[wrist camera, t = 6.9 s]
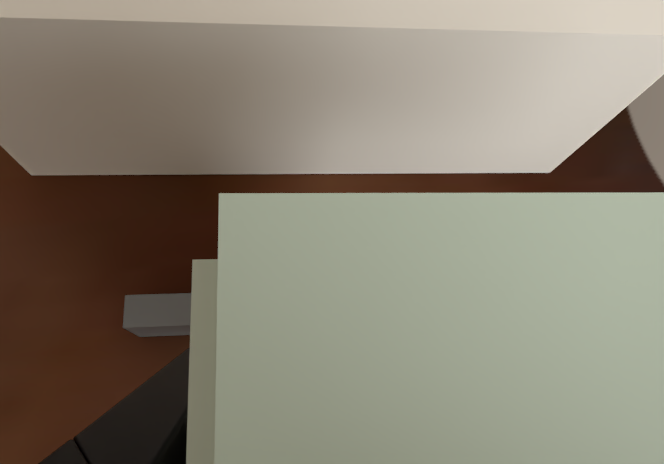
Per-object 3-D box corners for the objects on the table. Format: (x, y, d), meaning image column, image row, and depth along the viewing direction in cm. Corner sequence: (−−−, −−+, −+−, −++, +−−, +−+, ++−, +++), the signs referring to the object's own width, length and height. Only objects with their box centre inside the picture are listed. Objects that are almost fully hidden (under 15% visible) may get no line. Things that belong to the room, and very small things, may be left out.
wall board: (579, 319, 24) (782, 259, 14) (8, 342, 21) (-211, 285, 11) (542, 136, 27) (690, -16, 17) (36, 134, 24) (-120, -47, 14)
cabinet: (414, 506, 15) (864, 786, 4) (240, 520, 14) (156, 910, 3) (399, 342, 17) (691, 192, 5) (240, 349, 16) (183, 192, 5)
